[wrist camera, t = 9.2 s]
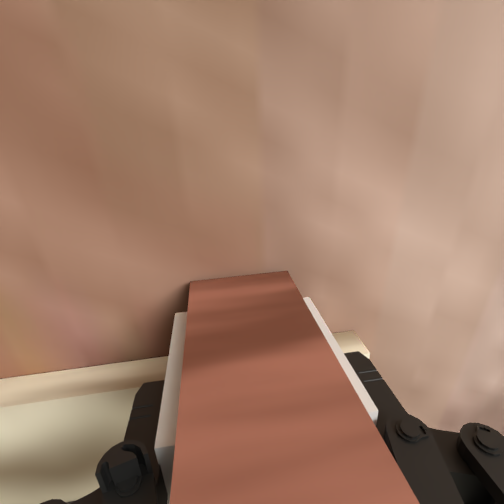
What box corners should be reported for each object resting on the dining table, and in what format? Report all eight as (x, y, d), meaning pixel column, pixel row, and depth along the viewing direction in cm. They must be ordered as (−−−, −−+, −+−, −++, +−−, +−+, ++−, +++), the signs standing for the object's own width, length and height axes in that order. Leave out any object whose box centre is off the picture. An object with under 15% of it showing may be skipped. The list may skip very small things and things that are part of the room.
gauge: (190, 281, 15) (152, 685, 4) (287, 270, 16) (476, 603, 5) (217, 465, 21) (231, 842, 10) (288, 453, 21) (375, 796, 10)
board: (-223, 409, 15) (-286, 451, 13) (353, 330, 18) (370, 354, 16) (-125, 514, 19) (-163, 559, 17) (343, 432, 22) (356, 461, 20)
